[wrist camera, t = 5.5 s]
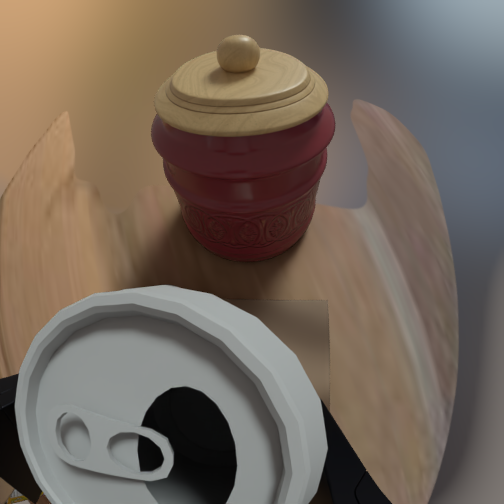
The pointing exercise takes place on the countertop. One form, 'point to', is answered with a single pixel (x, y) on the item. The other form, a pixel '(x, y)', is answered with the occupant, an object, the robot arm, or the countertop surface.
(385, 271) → the countertop surface
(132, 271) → the countertop surface
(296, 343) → the board
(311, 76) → the canister
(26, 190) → the countertop surface
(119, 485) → the can
